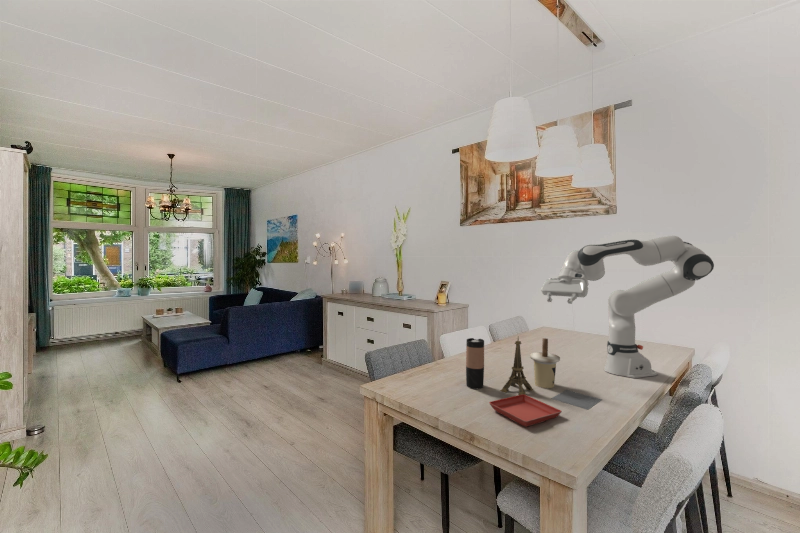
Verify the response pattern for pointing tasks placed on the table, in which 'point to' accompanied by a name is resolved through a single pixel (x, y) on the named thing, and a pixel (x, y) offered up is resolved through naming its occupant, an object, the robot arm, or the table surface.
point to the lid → (545, 354)
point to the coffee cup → (544, 374)
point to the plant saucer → (525, 409)
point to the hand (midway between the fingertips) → (559, 302)
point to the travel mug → (474, 363)
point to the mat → (577, 399)
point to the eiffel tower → (517, 370)
